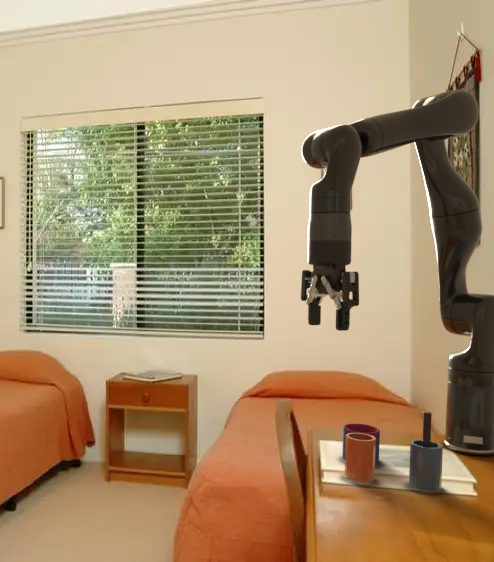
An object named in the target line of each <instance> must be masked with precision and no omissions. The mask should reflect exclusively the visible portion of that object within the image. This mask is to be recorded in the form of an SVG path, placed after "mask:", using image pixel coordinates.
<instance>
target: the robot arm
mask: <svg viewBox="0 0 494 562" xmlns="http://www.w3.org/2000/svg"><path fill="white" fill-rule="evenodd" d="M479 115H480V108H479V104H478V101H477V99H476V97H475V96H474V95H473V93H471V92H470V91H467V90H464V89H452V90H447V91H443V92H440V93H437V94H433V95H429V96H425V97H422V98H420V99H418V100H416V102H414V104H413V105H412V107H411V108H408V109H403V110H398V111H393V112H387V113H382V114H378V115H373V116H369V117H365V118H362V119H359V120H356V121H354V122H352V123H351V122H350V123H348V124H339V125H335V126H331V127H327V128H322V129H319V130H315V131H314V132H311V133H310V134H309V135H307V137H306V138H305V139H304V141H303V142H302V145H301V157H302V160H303V161H304V162H305V163H306V165H308V166H309V167H311V168H312V169H316V170H325V173H324V175H323V177H322V179H320V180H318V181H316V182H314V183H313V184H312V185H311V186H310V191H309V217H308V224H307V259H306V261H307V264H308V265H310V266H312V269H302V271H301V287H300V300H301V301H302V302H305V304H306V305H307V311H308V312H307V320H308V321H307V322H308V325H310V326H320V325H321V323H322V320H321V319H322V318H321V316H322V305H320V304H321V303H322V301H323V299H324V298H325V297H326V296H329V298H330V299H331V300H333V302H334V305H335V307H336V309H335V329H336V331H339V332H341V331H343V332H344V331H346V332H347V331H348V330H350V325H351V322H350V320H351V309H353V307H358V306H360V276H359V275H360V274H359V272H358V271H347V270H346V266H349V265H351V263H352V238H353V237H352V235H353V233H352V232H353V231H352V230H353V224H352V217H351V215H352V214H351V207H352V205H351V203H352V200H351V199H352V188H353V185H354V182H355V179H356V175H357V171H358V168H359V165H360V162H361V159H363V158H369V157H372V156H376V155H380V154H384V153H385V152H390V151H392V150H396V149H399V148H401V147H404V146H407V145H411V144H413V143H414V146H415V151H416V153H417V157H418V161H419V164H420V168H421V172H422V178H423V182H424V183H423V184H424V189H425V195H426V200H427V209H428V215H429V223H430V229H431V235H432V238H433V244H434V252H435V260H436V267H437V268H436V269H437V279H438V281H437V283H438V302H439V313H440V319H441V323H442V326H443V327H444V329H445V330H446V331H447V332H448V333H449V334H452V335H457V336H463V337H470V343H469V346H468V347H467V348H465V349H463V350H460V351H454V352H451V353H449V355H448V358H447V359H448V360H447V379H446V380H447V381H446V382H447V384H446V407H445V408H446V411H445V432H444V433H445V434H444V435H445V436H444V446H445V447H446V448H447V449H449V450H452V451H454V452H458V453H462V454H466V455H471V456H472V455H473V456H492V455H494V294H487V293H486V294H485V293H470V292H468V286H467V270H468V269H467V268H468V265H469V262H470V260H471V258H472V256H473V254H474V253H475V250H476V248H477V247H478V244H479V242H480V240H481V237H482V234H483V222H482V215H481V208H480V202H479V199H478V196H477V194H476V193H475V191H474V190H473V189H472V187H471V186H470V185H469V184H468V183H467V181H466V180H465V179H464V178H463V177H462V176H461V175H460V174H459V172H458V171H457V170H456V168H455V167H454V166H453V164H452V162H451V160H450V157H449V154H448V151H447V145H446V140H450V139H455V138H459V137H461V136H464V135H466V134H468V133H470V132H471V131H472V130H473V129H474V128H475V126H476V125H477V123H478V120H479ZM351 294H352V295H351ZM350 296H351V298H350Z"/></svg>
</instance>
